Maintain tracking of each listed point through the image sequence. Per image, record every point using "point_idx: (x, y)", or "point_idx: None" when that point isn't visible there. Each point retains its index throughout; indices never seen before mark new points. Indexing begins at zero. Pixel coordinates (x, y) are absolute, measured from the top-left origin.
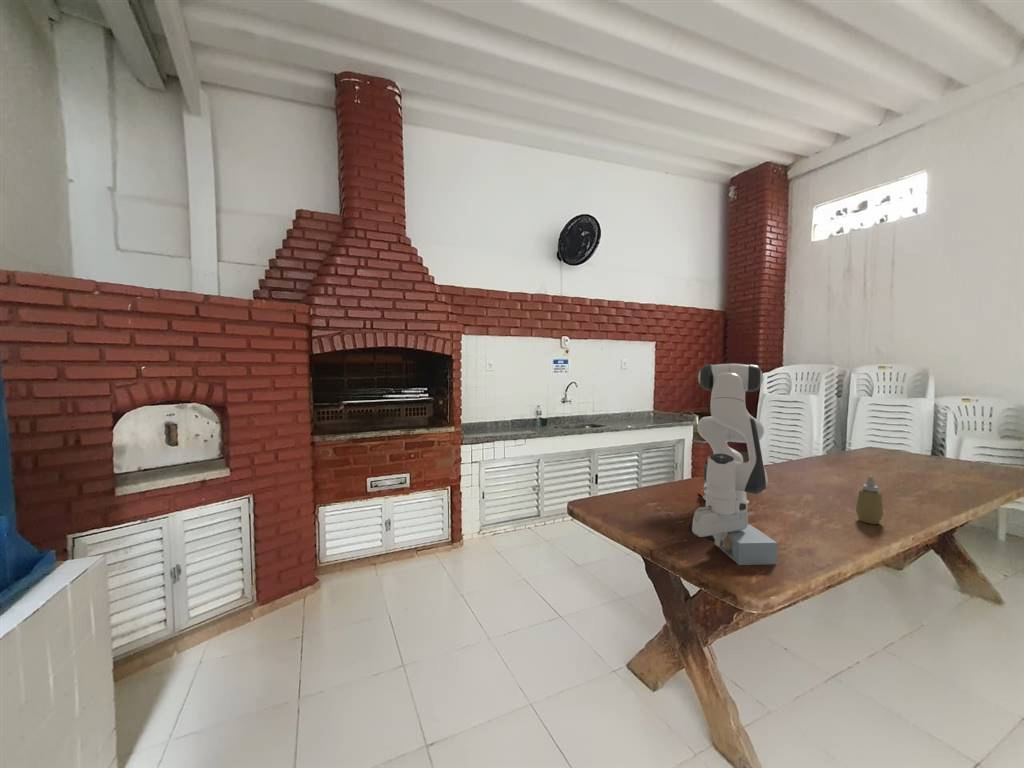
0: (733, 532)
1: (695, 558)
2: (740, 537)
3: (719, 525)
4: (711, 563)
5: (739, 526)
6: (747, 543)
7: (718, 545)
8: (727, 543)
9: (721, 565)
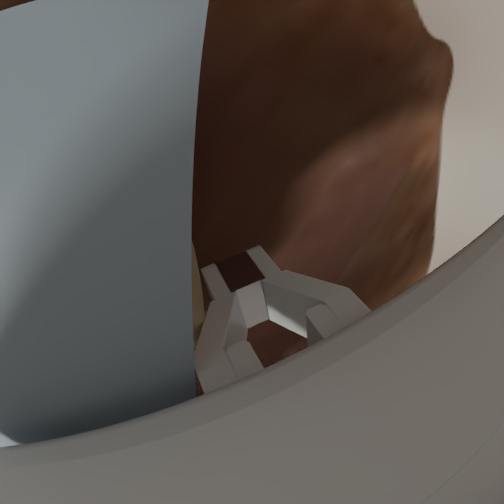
0: (95, 415)
1: (375, 174)
2: (25, 296)
3: (473, 394)
4: (338, 103)
5: (35, 494)
6: (6, 12)
7: (260, 251)
8: (193, 255)
9: (295, 64)
